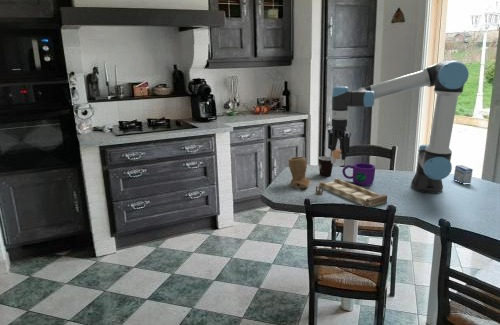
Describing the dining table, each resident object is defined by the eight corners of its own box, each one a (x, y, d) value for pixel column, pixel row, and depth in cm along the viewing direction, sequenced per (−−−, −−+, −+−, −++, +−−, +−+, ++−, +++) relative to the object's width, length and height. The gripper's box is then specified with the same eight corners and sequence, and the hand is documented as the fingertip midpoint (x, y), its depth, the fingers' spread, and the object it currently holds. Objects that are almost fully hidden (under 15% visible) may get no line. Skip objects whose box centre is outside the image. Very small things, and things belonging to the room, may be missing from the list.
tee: (323, 193, 196) (324, 187, 195) (318, 195, 194) (319, 188, 193) (319, 191, 199) (319, 185, 198) (314, 193, 197) (315, 186, 196)
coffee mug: (332, 177, 220) (334, 160, 218) (317, 176, 222) (318, 160, 219) (332, 171, 231) (333, 155, 228) (318, 170, 233) (318, 154, 230)
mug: (376, 182, 213) (377, 164, 210) (370, 188, 204) (372, 169, 201) (345, 177, 222) (346, 160, 219) (338, 182, 212) (339, 165, 210)
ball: (345, 159, 196) (345, 149, 195) (337, 160, 194) (338, 151, 192) (337, 157, 200) (338, 147, 199) (330, 158, 198) (331, 149, 196)
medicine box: (452, 180, 216) (455, 165, 213) (459, 179, 217) (462, 164, 214) (463, 185, 208) (466, 169, 206) (470, 184, 209) (473, 168, 207)
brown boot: (290, 179, 218) (290, 153, 214) (311, 181, 215) (312, 155, 211) (284, 188, 204) (285, 160, 200) (307, 190, 201) (308, 162, 197)
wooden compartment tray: (386, 202, 185) (387, 195, 184) (368, 207, 179) (369, 200, 178) (336, 182, 213) (336, 176, 212) (319, 186, 207) (319, 179, 206)
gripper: (321, 117, 197) (319, 161, 203) (347, 121, 182) (345, 169, 188) (332, 115, 201) (330, 159, 207) (359, 120, 186) (356, 167, 192)
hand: (337, 164), depth 198 cm, fingers closed on ball, 5 cm apart
